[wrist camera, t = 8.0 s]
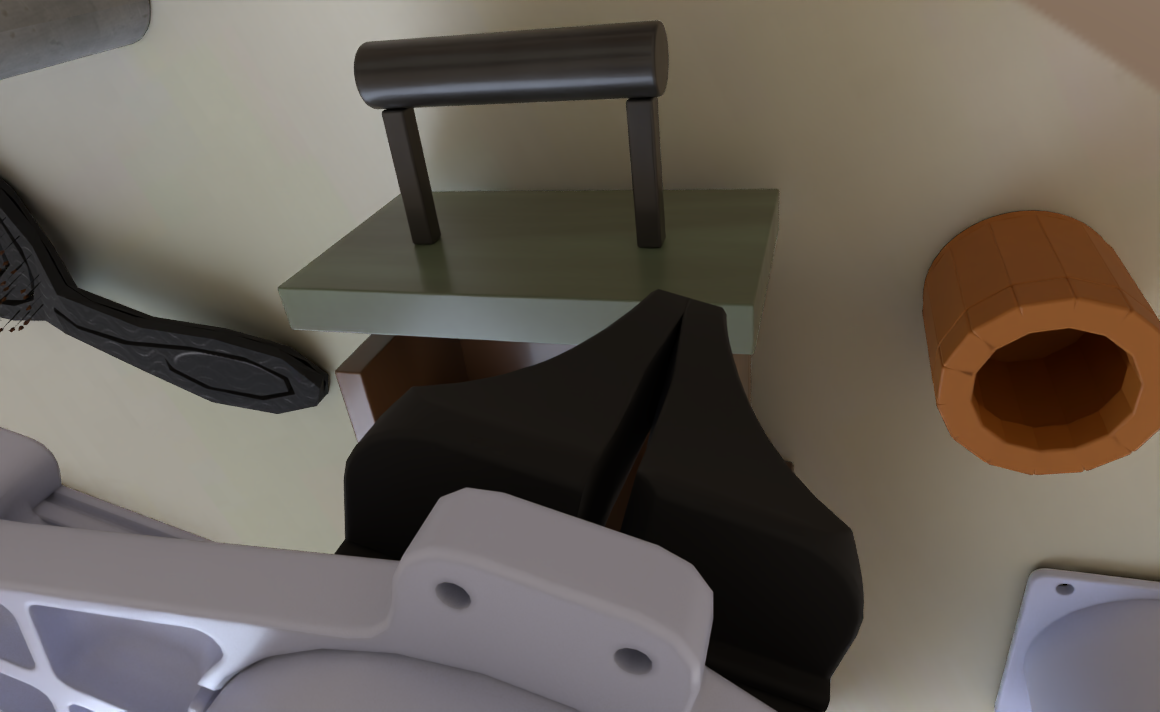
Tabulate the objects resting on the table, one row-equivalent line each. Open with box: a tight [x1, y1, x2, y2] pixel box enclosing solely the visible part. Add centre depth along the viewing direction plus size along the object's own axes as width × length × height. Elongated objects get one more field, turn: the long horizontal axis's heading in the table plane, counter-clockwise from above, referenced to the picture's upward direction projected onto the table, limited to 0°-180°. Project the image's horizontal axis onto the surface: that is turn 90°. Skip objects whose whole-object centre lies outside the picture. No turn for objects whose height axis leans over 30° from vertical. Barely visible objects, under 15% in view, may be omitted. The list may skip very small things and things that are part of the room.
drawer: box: [278, 20, 780, 532], centre depth 22 cm, size 18×11×7 cm, turn 6°
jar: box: [922, 211, 1160, 475], centre depth 19 cm, size 5×5×5 cm
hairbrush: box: [0, 178, 328, 414], centre depth 30 cm, size 8×4×25 cm
